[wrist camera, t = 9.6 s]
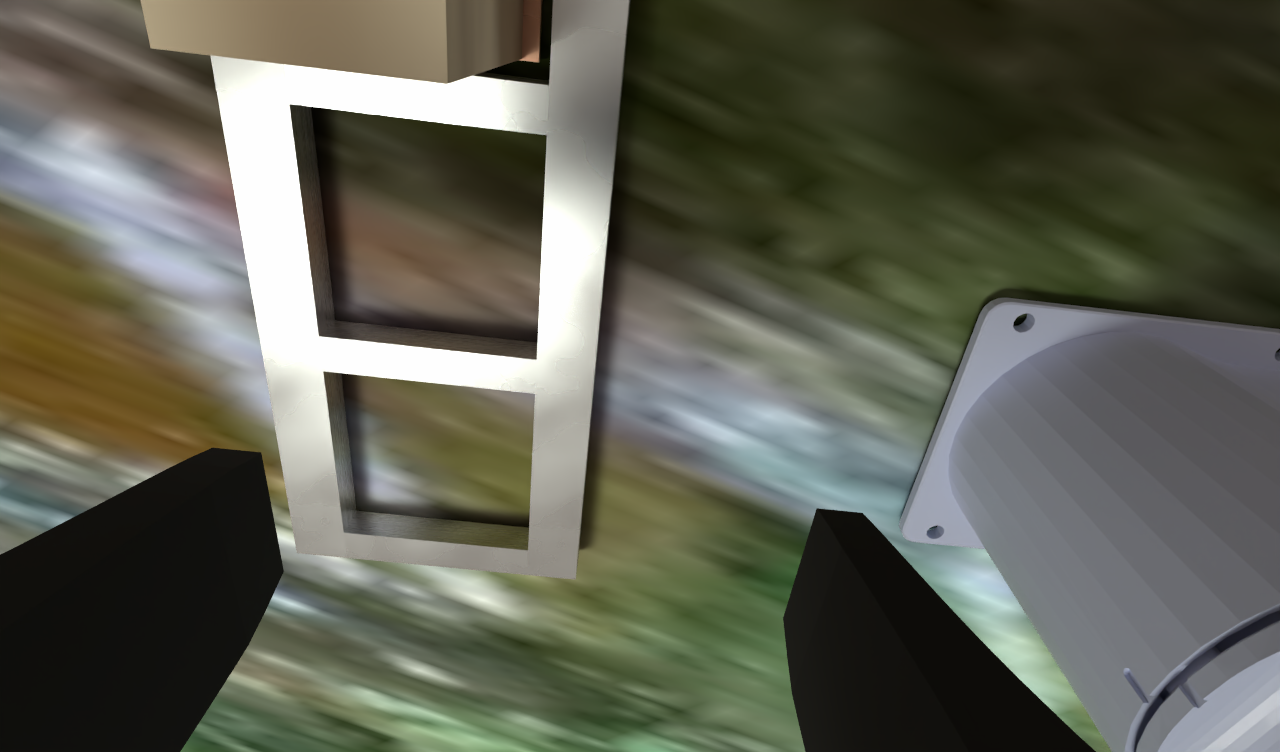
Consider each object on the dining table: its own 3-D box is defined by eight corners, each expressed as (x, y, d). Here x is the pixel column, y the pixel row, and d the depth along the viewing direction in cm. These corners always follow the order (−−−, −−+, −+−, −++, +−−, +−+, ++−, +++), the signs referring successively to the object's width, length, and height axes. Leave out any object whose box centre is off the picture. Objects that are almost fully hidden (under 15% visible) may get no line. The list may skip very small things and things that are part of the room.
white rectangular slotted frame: (659, -305, 12) (660, -331, 11) (578, 556, 22) (575, 579, 21) (168, -379, 12) (129, -411, 11) (311, 530, 21) (296, 553, 20)
